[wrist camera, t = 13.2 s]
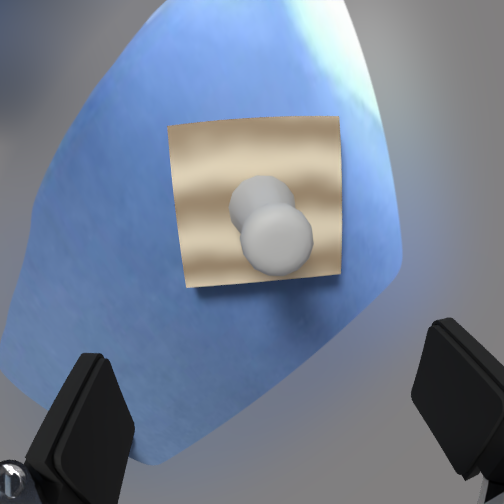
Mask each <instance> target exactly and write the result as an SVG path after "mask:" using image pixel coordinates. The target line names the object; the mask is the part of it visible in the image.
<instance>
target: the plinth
mask: <svg viewBox="0 0 504 504" xmlns="http://www.w3.org/2000/svg"><path fill="white" fill-rule="evenodd" d="M167 128H168V140H169V152H170V163H171V173H172V182H173V192H174V201H175V209H176V217H177V225H178V233H179V240H180V248H181V255H182V262H183V269H184V275H185V282H186V288H189V287H203V286H216V285H228V284H240V283H252V282H263V281H274V280H285V279H296V278H306V277H316V276H326V275H335V274H341V250H342V172H341V143H340V123H339V116H285V117H260V118H243V119H229V120H217V121H207V122H197V123H188V124H180V125H172V126H167ZM256 175H260V176H273V177H275V178H277V179H278V180H280V181H282V182H284V183H285V184H286V185H287V187H288V188H289V189H290V191H291V192H292V193H293V195H294V200H295V208H296V209H297V210H299V211H301V212H302V213H303V214H304V216H305V217H306V219H307V220H308V222H309V223H310V224H311V227H312V233H313V242H314V245H313V248H312V251H311V254H310V257H309V259H308V260H307V261H306V262H305V263H304V264H303V265H302V266H301V267H300V268H299V269H298V270H297V271H294V272H292V273H290V274H287V275H285V276H268V275H266V274H264V273H262V272H260V271H257V270H255V269H254V268H253V266H252V265H251V264H250V263H249V261H248V260H247V259H246V257H245V256H244V255H243V251H242V246H241V242H240V232H239V231H238V230H237V229H236V227H235V226H234V225H233V223H232V222H231V218H230V213H229V208H228V207H229V203H230V200H231V196H232V193H233V192H234V190H235V189H236V188H237V187H238V186H239V185H240V183H241V182H242V181H244V180H247V179H249V178H251V177H254V176H256Z"/></svg>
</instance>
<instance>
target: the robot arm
mask: <svg viewBox="0 0 504 504" xmlns="http://www.w3.org/2000/svg"><path fill="white" fill-rule="evenodd" d="M411 398H412V401H413V403H414V404H415V406H416V407H417V409H418V411H419V412H420V414H421V415H422V417H423V419H424V420H425V422H426V423H427V425H428V426H429V428H430V430H431V431H432V433H433V435H434V436H435V438H436V440H437V441H438V443H439V444H440V446H441V448H442V449H443V451H444V453H445V454H446V456H447V458H448V459H449V461H450V463H451V465H452V466H453V468H454V470H455V471H456V472H457V474H459V475H462V476H463V478H464V480H465V481H466V480H468V479H470V478H472V477H474V476H476V475H478V474H479V473H480V471H481V473H482V474H483V481H482V486H481V491H480V495H479V499H478V503H477V504H504V366H503V365H502V364H501V363H500V362H499V361H497V359H496V358H495V357H494V356H493V355H491V353H489V352H488V351H487V350H486V349H485V348H484V347H483V346H482V345H481V344H480V343H479V342H478V341H477V340H476V339H475V338H473V336H471V335H470V334H469V333H468V332H467V331H466V330H465V329H464V328H463V327H462V326H461V325H459V324H458V323H457V322H456V321H455V320H454V319H453V318H445V319H440V320H436V321H434V322H433V323H432V326H431V327H429V329H428V332H427V336H426V340H425V344H424V348H423V352H422V356H421V360H420V364H419V367H418V371H417V374H416V377H415V381H414V384H413V387H412V391H411ZM134 432H135V426H134V422H133V419H132V417H131V415H130V412H129V410H128V407H127V405H126V403H125V400H124V398H123V395H122V393H121V390H120V388H119V385H118V382H117V380H116V377H115V374H114V372H113V369H112V366H111V363H110V361H109V360H108V359H105V358H104V356H103V355H102V354H100V353H83V354H81V355H80V357H79V359H78V360H77V362H76V364H75V365H74V367H73V369H72V370H71V372H70V374H69V376H68V377H67V379H66V381H65V383H64V384H63V386H62V388H61V390H60V391H59V393H58V395H57V397H56V399H55V400H54V402H53V404H52V406H51V408H50V410H49V411H48V413H47V415H46V417H45V419H44V421H43V423H42V425H41V427H40V429H39V430H38V432H37V435H36V436H35V438H34V440H33V442H32V444H31V446H30V448H29V451H28V453H27V454H26V457H25V458H26V461H25V463H24V464H22V463H21V462H19V461H16V460H4V461H1V462H0V504H118V499H119V495H120V490H121V486H122V481H123V477H124V473H125V469H126V464H127V460H128V456H129V452H130V448H131V444H132V440H133V436H134Z"/></svg>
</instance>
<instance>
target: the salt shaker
mask: <svg viewBox="0 0 504 504" xmlns="http://www.w3.org/2000/svg"><path fill="white" fill-rule="evenodd" d="M228 208H229V213H230V218H231V222H232V223H233V225H234V226H235V227H236V229H237V230H238V231H239V232H240V242H241V246H242V251H243V255H244V256H245V257H246V259H247V260H248V261H249V263H250V264H251V265H252V266H253V268H254V269H255V270H257V271H260V272H262V273H264V274H266V275H268V276H285V275H287V274H290V273H292V272H294V271H297V270H298V269H299V268H300V267H301V266H302V265H303V264H304V263H305V262H306V261H307V260H308V259H309V257H310V254H311V251H312V248H313V245H314V242H313V233H312V227H311V224H310V223H309V222H308V220H307V219H306V217H305V216H304V214H303V213H302V212H301V211H299V210H297V209H296V208H295V200H294V195H293V193H292V192H291V191H290V189H289V188H288V187H287V185H286V184H285V183H284V182H282V181H280V180H278V179H277V178H275V177H273V176H260V175H256V176H254V177H251V178H249V179H247V180H244V181H242V182H241V183H240V185H239V186H238V187H237V188H236V189H235V190H234V192H233V193H232V196H231V200H230V203H229V207H228Z"/></svg>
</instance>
